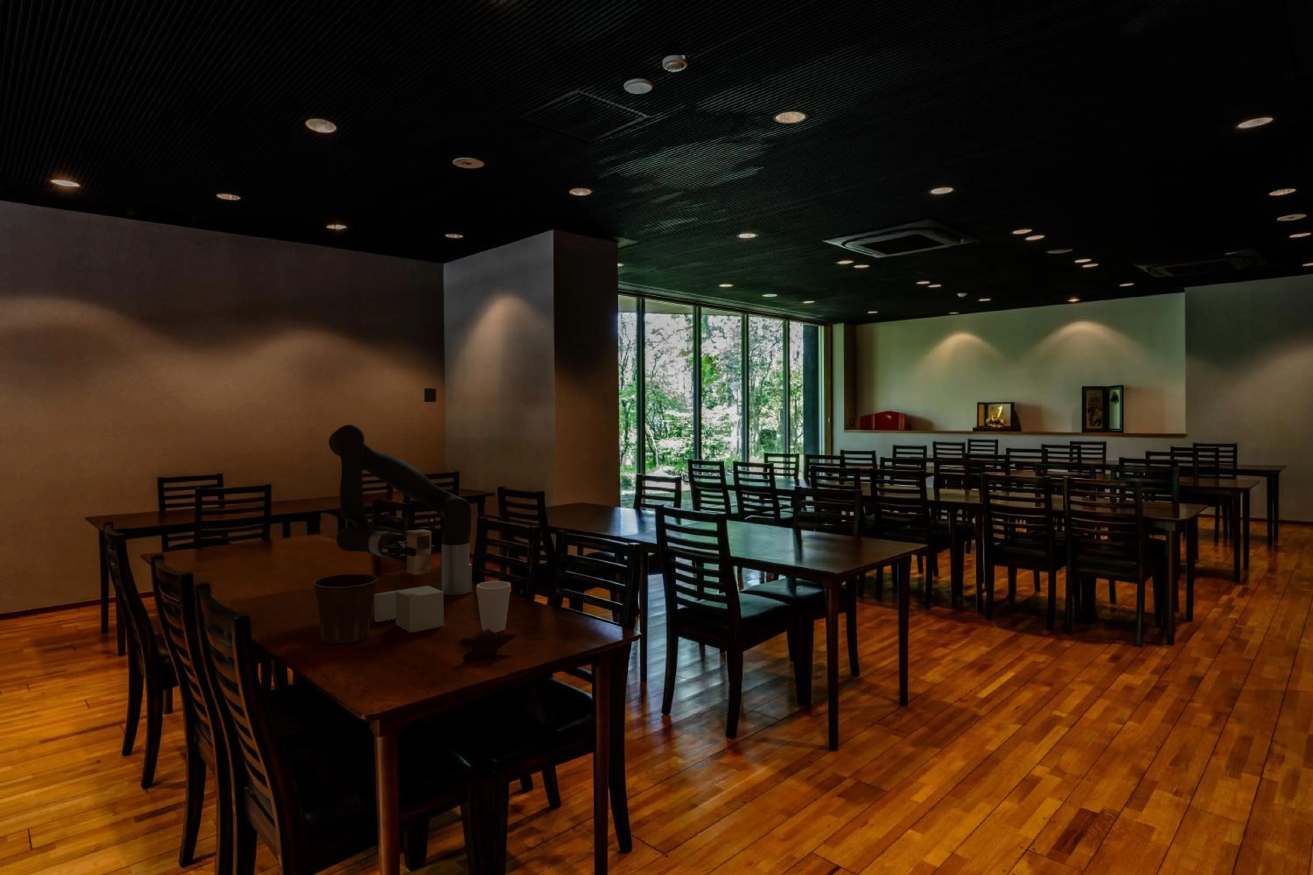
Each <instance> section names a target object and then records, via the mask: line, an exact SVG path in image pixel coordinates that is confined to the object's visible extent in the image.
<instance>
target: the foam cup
mask: <svg viewBox="0 0 1313 875" xmlns="http://www.w3.org/2000/svg"><path fill="white" fill-rule="evenodd" d="M511 588H512V587H511V583H510V582H508V581H504V580H503V581H502V580H500V581H499V580H497V581H493V580H492V581H490V580H489V581H485V582H484V581H483V582H480V583H477V584H476V588H475V589H476V590H475V591H476V595H477V604H478V611H479V617H480V625H481V631H482V630H483V631H485V630H487V629H489V630H491V631H492V632H499V631H502V630H504V629H505V630H506V625H507V618H508V610H509V603H510V594H511V592H512V590H511ZM505 630H504V631H505ZM483 631H482V632H483Z"/></svg>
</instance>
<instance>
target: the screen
mask: <svg viewBox="0 0 1313 875" xmlns="http://www.w3.org/2000/svg"><path fill="white" fill-rule="evenodd" d="M424 586H425V585H423V586H421V587H424ZM418 587H419V586H418ZM418 587H415V588H418ZM412 588H413V587H411V588H409V589H412ZM405 589H406V588H405ZM405 589H402V590H405ZM399 590H400V589H397V590H392V591H385V592H379V593H374V622H376V623H379V622H380V623H381V622H385V620H387V621H391V620H390V619H392V620H396V619H395V618H396V591H399Z"/></svg>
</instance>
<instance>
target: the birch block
mask: <svg viewBox="0 0 1313 875" xmlns="http://www.w3.org/2000/svg"><path fill="white" fill-rule="evenodd" d="M406 539H407V547H411V548H416V556H409V555H406V573H408V574H410V575H413V576H414V575H415V576H416V575H422V574H431V573H432V553H431V545H432V531H431V530H427V529H415V530H414V529H412V530H411V529H410V530H407V531H406Z"/></svg>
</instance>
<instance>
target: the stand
mask: <svg viewBox="0 0 1313 875" xmlns="http://www.w3.org/2000/svg"><path fill="white" fill-rule="evenodd" d="M423 586H424V587H422V586H418V588H416V587H411V588H412V589H410V588H405V590H403V589H398V590H399V591H397V590H395V591H396V619H395V626H397V625H398V626H399V628H400V627H401V628H400V629H402V630H404V629H405V630H404V631H406V632H408V633H409V634H411V632H412V633H417V632H421V631H425V630H426V629H427V630H432V629H437V628H442V627H444V626H445V625H444V620H445V619H444V617H445V616H444V608H445V607H444V600H445V599H444V595H445V594H444V592H443V591H442V590H440V589H438V588H435V587H432V586H431V585H423ZM398 626H397V627H398ZM441 626H442V627H441Z"/></svg>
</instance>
